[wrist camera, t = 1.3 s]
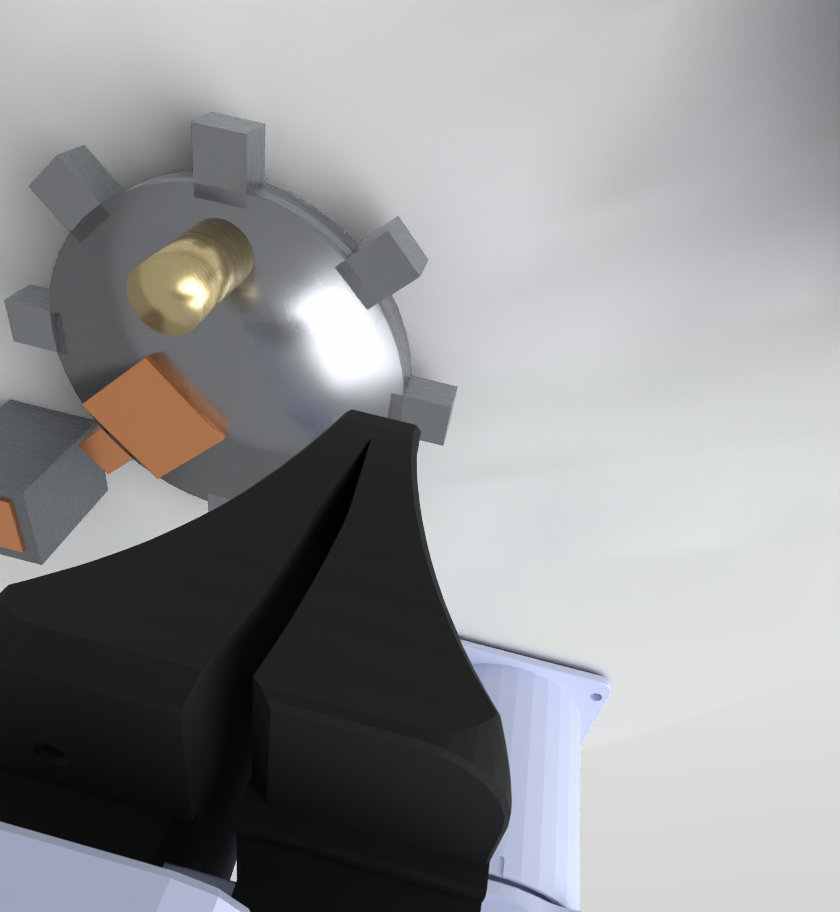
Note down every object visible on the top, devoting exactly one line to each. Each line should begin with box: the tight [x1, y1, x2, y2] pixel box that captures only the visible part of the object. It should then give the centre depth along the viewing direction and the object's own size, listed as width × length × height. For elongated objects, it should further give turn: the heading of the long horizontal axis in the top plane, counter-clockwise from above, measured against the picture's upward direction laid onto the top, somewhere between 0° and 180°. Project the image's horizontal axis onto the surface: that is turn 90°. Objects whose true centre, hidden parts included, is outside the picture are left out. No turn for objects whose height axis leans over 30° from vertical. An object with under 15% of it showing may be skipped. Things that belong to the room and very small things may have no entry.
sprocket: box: [4, 112, 457, 512], centre depth 20 cm, size 14×14×4 cm
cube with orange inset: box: [0, 400, 108, 565], centre depth 26 cm, size 4×4×4 cm
